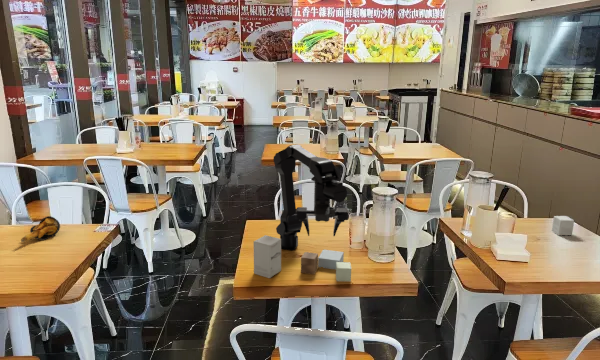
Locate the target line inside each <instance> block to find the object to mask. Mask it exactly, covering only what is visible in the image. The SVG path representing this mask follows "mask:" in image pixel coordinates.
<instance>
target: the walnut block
mask: <svg viewBox="0 0 600 360" xmlns="http://www.w3.org/2000/svg"><path fill="white" fill-rule="evenodd" d="M318 257H319V253H316V252H315V253H314V252H309V251H305V252H303V254H302V255H301V257H300V273H303V274H309V275H315V274H316V272H317V270H318V269H319V267H318Z"/></svg>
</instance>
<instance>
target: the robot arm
mask: <svg viewBox="0 0 600 360" xmlns="http://www.w3.org/2000/svg"><path fill="white" fill-rule="evenodd" d="M297 161H298V162H300V163H301V164H303V165H304V166H306V167H308V168H309V172H310V173H311V175H313V176H312V177H311V178H310V179H311V181H313V182H314V189H313V190H314V192H313V193H314V195H313V198H314V199H313V200H314V201H313V210H308V208H307V207H303V206H301V207H300V206H298V207H297V206H296V205H297V204H296V198H295V195H296V194H295V188H294V187H295V186H294V176H293V174H294V171H295V169H296V167H297V165H296V164H297V163H296V162H297ZM273 163H274V167H275V170H276V171H277V172H278V174H279V177H280V188H281V197H282V206H283V210H282V213H281V215H280V217H279V218H280V220H279V221H280V222H279V224H278V225H277V226H276V228H275V229H276V234H278V235H279V239H281V250H286V251H287V250H288V251H294V250H296V248H297V247H298V246H299V236H298V234H299V233H301V230H302V227H303V225H304V227H305V230H306V234H307V237H309V236H310V224H309V223H310V222H309V217H315V219H314V220H315V221H316V222H325V223H326V222H329V221H330V219H332V218H334V224H333V225H334V226H333V233H332V234H333V237H335V236H336V234H337V232H338V228H339V226H340V225H341V223H344V222H345V221H348V220H349V211H348V209H347V207H335V206H331V200H332V201H334V202H336V203H342V202H344V201H345V200H346V198H347V197H348V196H347V195H348V191H347V188H346V187H345V186H344V185H343V184H344V183H343V181H340V177H339V174H338V172H337V170H336V167H335V164H334V162H333V161H332V160H331V159H329V158H326V157H319V156H316V155H315V154H314V153H311V152H310V151H309V150H307V149H305V148H304V147H302V145H301V144H291V145H288V146H286V147H285V148H284V149H282V150H280V151H278V152H276V153H275V154H274V156H273Z"/></svg>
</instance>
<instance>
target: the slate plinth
mask: <svg viewBox="0 0 600 360" xmlns="http://www.w3.org/2000/svg"><path fill="white" fill-rule="evenodd" d="M344 254H345V252H344V251H337V250H330V249H322V250H321V252H320V254H319V255H318V268H321V267H323V268H322V269H329V270H336V262H344V258H345V257H344Z"/></svg>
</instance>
